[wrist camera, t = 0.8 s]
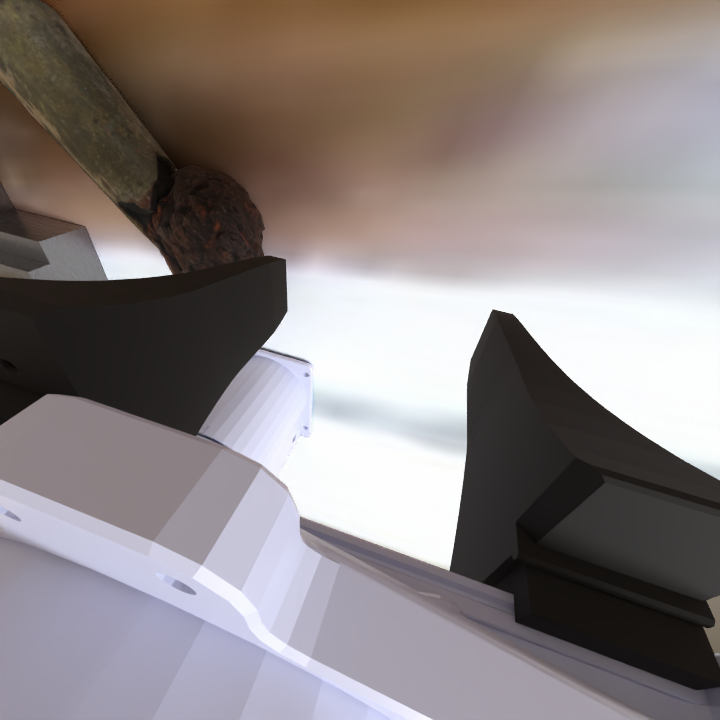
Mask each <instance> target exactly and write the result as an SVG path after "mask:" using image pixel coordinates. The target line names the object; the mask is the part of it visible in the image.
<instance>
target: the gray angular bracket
mask: <svg viewBox="0 0 720 720" xmlns="http://www.w3.org/2000/svg"><path fill="white" fill-rule="evenodd" d="M0 277H7V278H23V279H40V280H64V281H104V280H107V277H106V275H105V273H104V270H103V268H102V265H101V263H100V261H99V258H98V256H97V253H96V251H95V249H94V246H93V244H92V241H91V239H90V237H89V234H88V232H87V230H86V227H84V226H80V225H76V224H72V223H68V222H64V221H60V220H56V219H52V218H48V217H44V216H40V215H36V214H32V213H28V212H24V211H20V210H16V209H14V207H13V205H12V203H11V201H10V199H9V198H8V196H7V194H6V192H5V190H4V188H3V186H2V184H1V183H0Z"/></svg>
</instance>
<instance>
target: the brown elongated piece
mask: <svg viewBox="0 0 720 720" xmlns="http://www.w3.org/2000/svg"><path fill="white" fill-rule="evenodd" d="M0 82H1V83H2V84H3V85H4V86H5V87H6V88H7V89H8V90H9V91H10V92H11V93H12V94H13V95H14V96H15V97H16V98H17V99H18V100H19V101H20V103H21V104H22V105H23V106H24V107H25V108H26V109H27V110H28V112H29V113H30V114H31V115H32V116H33V117H34V118H35V119H36V120H37V121H38V122H39V123H40V124H41V125H42V126H43V128H44V129H45V130H46V131H47V132H48V133H49V134H50V135H51V136H52V137H53V138H54V139H55V140H56V141H57V143H58V144H59V145H60V146H61V147H62V148H63V149H64V150H65V151H66V152H67V153H68V154H69V155H70V156H71V157H72V158H73V160H74V161H75V162H76V163H77V164H78V165H79V166H80V167H81V168H82V169H83V170H84V171H85V173H86V174H87V175H88V176H89V177H90V178H91V179H92V180H93V181H94V182H95V183H96V184H97V185H98V186H99V187H100V188H101V189H102V191H103V192H104V193H105V194H106V195H107V196H108V197H109V198H110V199H111V200H112V201H113V203H114V204H115V205H116V206H117V207H118V208H119V209H120V210H121V211H122V212H123V213H124V214H125V215H126V217H127V218H128V219H129V220H130V221H131V222H132V223H133V224H134V225H135V226H136V227H137V228H138V229H139V230H140V231H141V232H142V233H143V234H144V235H145V236H146V237H147V238H148V239H149V240H150V241H151V242H152V243H153V244H154V245H156V247H157V248H158V249H159V250H160V252H161V254H162V255H163V257H164V258H165V260H166V263H167V265H168V267H169V269H170V270H171V272H172V274H173V275H174V274H180V273H186V272H191V271H196V270H201V269H206V268H210V267H215V266H220V265H224V264H228V263H232V262H237V261H241V260H245V259H250V258H255V257H261V256H264V254H263V251H262V239H263V235H262V230H264V229H265V228H264V225H263V221H262V217H261V214H260V213H259V211H258V209H257V208H256V206H255V205H254V204H252V202H251V201H250V199H249V197H248V193H247V192H246V191H245V190H244V189H243V188H242V187H240V186H238V185H237V184H236V182H235V181H234V180H233V179H232V178H230V177H229V176H227V175H225V174H223V173H220V172H216V171H209V170H205V169H203V168H201V167H199V166H196V165H192V164H191V165H189V166H186V167H183V168H181V169H177V168H176V167H175V165H174V164H173V163H172V161H171V160H170V159H169V158H168V156H167V155H166V154H165V152H164V151H163V150H162V148H161V147H160V146H159V145H158V143H157V142H156V141H155V139H154V138H153V137H152V136H151V134H150V133H149V132H148V130H147V129H146V128H145V126H144V125H143V124H142V122H141V121H140V120H139V119H138V117H137V116H136V115H135V113H134V112H133V111H132V109H131V108H130V107H129V105H128V104H127V103H126V101H125V100H124V99H123V97H122V96H121V95H120V93H119V92H118V91H117V89H116V88H115V87H114V86H113V84H112V83H111V82H110V81H109V79H108V78H107V77H106V76H105V74H104V73H103V72H102V71H101V69H100V68H99V67H98V65H97V64H96V63H95V62H94V60H93V59H92V58H91V56H90V55H89V54H88V52H87V51H86V50H85V48H84V47H83V46H82V44H81V43H80V42H79V40H78V39H77V38H76V36H75V35H74V34H73V32H72V31H71V30H70V28H69V27H68V26H67V25H66V23H65V22H64V21H63V19H62V18H61V17H60V15H59V14H58V13H57V12H56V11H55V10H54V9H52V8H51V7H50V6H48V5H47V4H45V3H43V2H42V1H40V0H1V1H0Z"/></svg>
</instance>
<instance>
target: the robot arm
mask: <svg viewBox="0 0 720 720" xmlns="http://www.w3.org/2000/svg"><path fill="white" fill-rule="evenodd" d="M287 311H288V310H287V282H286V260H285V259H281V258H277V257H273V256H261V257H255V258H250V259H245V260H241V261H237V262H232V263H228V264H224V265H220V266H215V267H210V268H206V269H201V270H196V271H191V272H186V273H180V274H174V275H167V276H159V277H150V278H139V279H122V280H104V281H64V280H40V279H23V278H7V277H0V720H720V653H715V654H714V652H713V650H712V648H711V645H710V643H709V641H708V638H707V635H706V633H705V631H704V628H703V627H706V628H711V627H714V625H715V619H714V617H713V615H712V612H711V610H710V608H709V605H708V604H707V601H706V600H708V599H710V598H713V597H716V596H719V595H720V480H718V479H716V478H714V477H712V476H711V475H709V474H707V473H705V472H703V471H702V470H700V469H698V468H696V467H694V466H693V465H691V464H689V463H687V462H685V461H684V460H682V459H680V458H679V457H677V456H675V455H674V454H672V453H670V452H669V451H667V450H666V449H664V448H662V447H661V446H659V445H658V444H656V443H654V442H653V441H651V440H650V439H648V438H647V437H645V436H644V435H642V434H641V433H639V432H638V431H636V430H635V429H633V428H632V427H630V426H629V425H627V424H626V423H625V422H623V421H622V420H620V419H619V418H618V417H616V416H615V415H614V414H612V413H611V412H610V411H608V410H607V409H605V408H604V407H603V406H602V405H600V404H599V403H598V402H597V401H595V400H594V399H593V398H592V397H591V396H589V395H588V394H587V393H586V392H585V391H584V390H582V389H581V388H580V387H579V386H578V385H577V384H576V383H574V382H573V381H572V380H571V379H570V378H569V377H568V376H567V375H566V374H565V373H564V372H563V371H562V370H561V369H560V368H559V367H558V366H557V365H556V364H555V363H554V362H553V361H552V360H551V358H550V357H549V356H548V355H547V354H546V353H545V352H544V351H543V349H542V348H541V347H540V346H539V345H538V343H537V342H536V341H535V340H534V339H533V337H532V336H531V335H530V334H529V332H528V331H527V330H526V329H525V328H524V326H523V325H522V324H521V323H520V321H519V320H518V319H517V318H516V317H515V316H514V315H513V314H510V313H506V312H501V311H497V310H492V312H491V314H490V317H489V319H488V321H487V324H486V326H485V328H484V331H483V333H482V335H481V338H480V340H479V342H478V344H477V347H476V349H475V351H474V354H473V356H472V358H471V362H470V369H469V375H468V382H467V454H466V463H465V472H464V480H463V488H462V495H461V502H460V510H459V517H458V523H457V530H456V536H455V543H454V549H453V555H452V560H451V566H450V571H448V570H445V569H442V568H439V567H437V566H434V565H431V564H428V563H426V562H423V561H420V560H417V559H415V558H412V557H409V556H407V555H404V554H401V553H398V552H396V551H393V550H390V549H387V548H385V547H382V546H379V545H377V544H374V543H371V542H368V541H366V540H363V539H360V538H357V537H355V536H352V535H349V534H346V533H344V532H341V531H338V530H336V529H333V528H330V527H327V526H325V525H322V524H319V523H316V522H314V521H311V520H308V519H305V518H303V517H300V515H299V512H298V510H297V507H296V505H295V503H294V500H293V498H292V496H291V494H290V492H289V490H288V487H287V486H286V485H285V484H284V483H283V482H282V481H280V480H279V479H278V478H277V476H278V474H279V472H280V470H281V469H282V467H283V465H284V463H285V461H286V459H287V458H288V456H289V454H290V452H291V450H292V449H293V447H294V445H295V443H296V441H297V440H298V438H299V436H300V435H301V436H304V437H310V435H311V433H312V399H313V367H312V365H311V364H309V363H306V362H303V361H299V360H296V359H292V358H289V357H285V356H282V355H279V354H275V353H272V352H268V351H265V350H261V349H260V348H261V347H262V346H263V345H264V343H265V342H266V341H267V340H268V339H269V338H270V336H271V335H272V334H273V333H274V332H275V330H276V329H277V327H278V326H279V324H280V323H281V321H282V319H283V318H284V316H285V314H286V313H287ZM307 373H308V374H307Z"/></svg>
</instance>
